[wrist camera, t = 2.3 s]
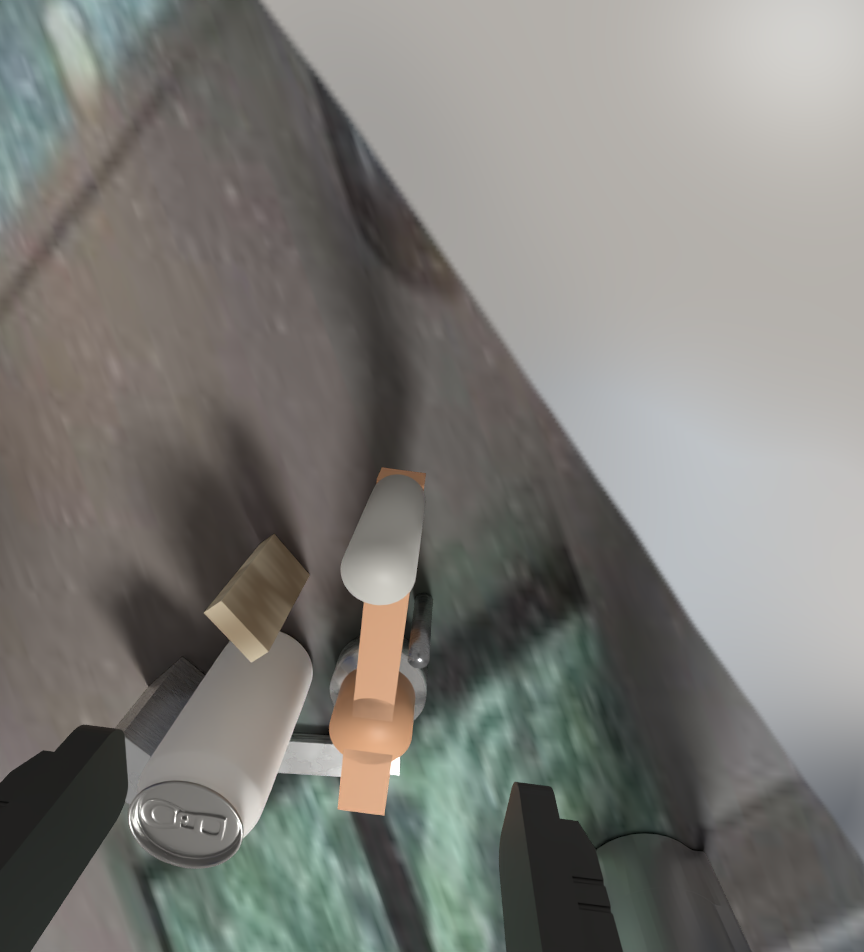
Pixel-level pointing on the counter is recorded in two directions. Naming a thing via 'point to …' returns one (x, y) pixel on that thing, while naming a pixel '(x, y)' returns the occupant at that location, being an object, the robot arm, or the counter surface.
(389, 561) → the lever
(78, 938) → the counter surface
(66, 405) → the counter surface
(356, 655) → the crusher base
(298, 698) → the can
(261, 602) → the slat
